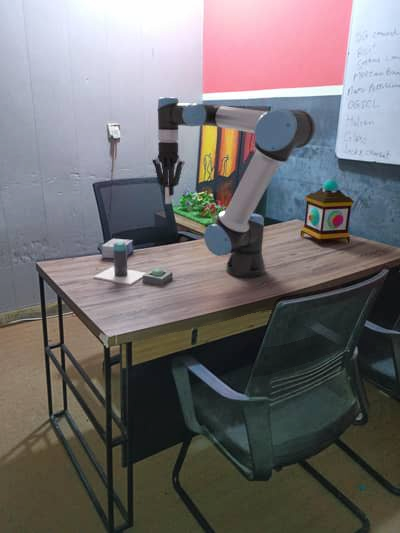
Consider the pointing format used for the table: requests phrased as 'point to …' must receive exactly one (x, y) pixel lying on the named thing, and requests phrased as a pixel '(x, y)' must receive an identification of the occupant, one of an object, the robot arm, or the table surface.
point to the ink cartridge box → (109, 247)
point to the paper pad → (128, 280)
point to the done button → (157, 272)
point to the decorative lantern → (327, 213)
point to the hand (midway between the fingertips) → (168, 203)
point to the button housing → (157, 277)
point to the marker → (120, 259)
